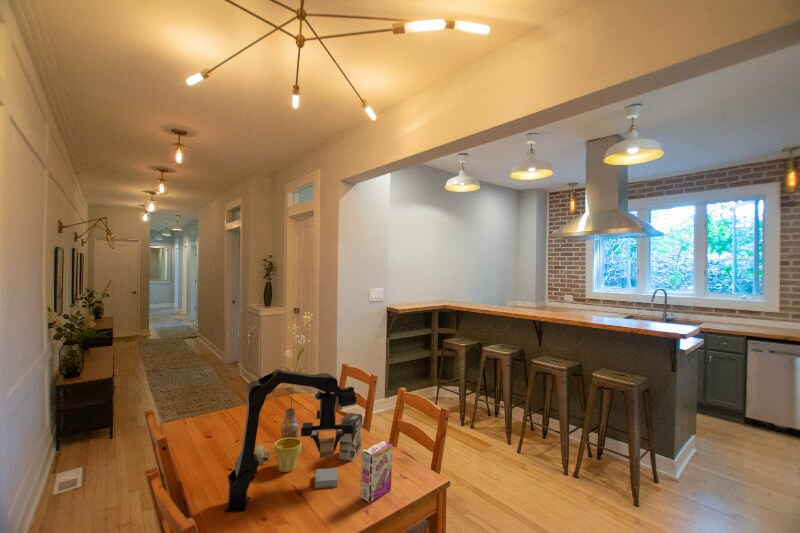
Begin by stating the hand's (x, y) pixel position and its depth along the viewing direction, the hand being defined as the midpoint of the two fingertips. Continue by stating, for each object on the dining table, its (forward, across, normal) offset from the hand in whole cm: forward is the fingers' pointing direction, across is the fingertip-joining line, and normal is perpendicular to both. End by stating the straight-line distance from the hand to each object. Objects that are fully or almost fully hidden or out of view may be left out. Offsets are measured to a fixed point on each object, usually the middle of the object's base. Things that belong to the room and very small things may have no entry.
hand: (327, 451), depth 137 cm
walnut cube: (+1, 0, 0) cm, 1 cm away
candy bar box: (+11, -18, +10) cm, 23 cm away
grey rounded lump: (+11, +29, -19) cm, 36 cm away
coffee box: (+11, -9, -19) cm, 24 cm away
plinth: (+11, 0, 0) cm, 11 cm away
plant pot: (+11, +16, -12) cm, 22 cm away
